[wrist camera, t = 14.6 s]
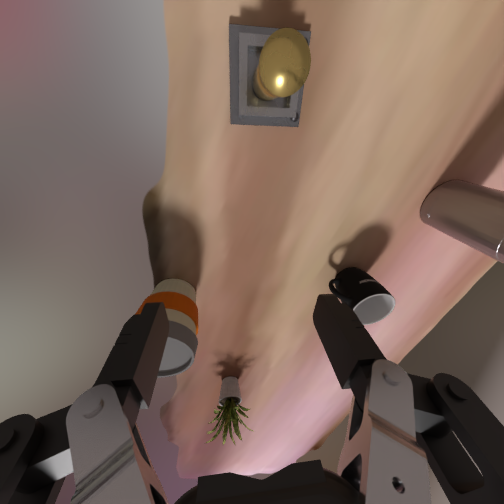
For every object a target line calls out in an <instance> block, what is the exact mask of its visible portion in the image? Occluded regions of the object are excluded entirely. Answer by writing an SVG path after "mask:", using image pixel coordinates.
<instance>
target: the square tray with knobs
mask: <svg viewBox="0 0 504 504" xmlns="http://www.w3.org/2000/svg"><path fill="white" fill-rule="evenodd" d="M277 30H279V28H268V27H257V26H247V25H236V24H229V59H230V119H231V124H240V125H264V126H289V127H298V125H299V118H300V110H301V103H302V95H303V88H304V84H303V86H302V87H301V88H300V89H299V90H298V91H297V92H296V93H294V94H292V95H290V96H288V97H277V98H275V99H273V100H270V101H264V100H261V99H260V98H259V97H258V96H257V95H256V94H255V92H254V89H253V84H252V81H253V75H254V72H255V70H256V68H257V66H258V64H259V58H260V54H261V51H262V48H263V46H264V44H265V42H266V41H267V39H268V38H269V37H270V35H271V34H273V33H274V32H275V31H277ZM297 31H299V32H300V33H301V34H302V35H303V36H304V38H305V39H306V41H307V43H308V46H309V43H310V36H311V31H300V30H297Z"/></svg>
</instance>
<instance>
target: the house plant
mask: <svg viewBox="0 0 504 504" xmlns="http://www.w3.org/2000/svg"><path fill="white" fill-rule="evenodd" d="M241 401H242V400H241V394H240V389H239V384H238V379H237V378H236V377H226V378H224V379H223V380H222V385H221V391H220V397H219V404H220V405H221V406H217V407H218V409H221V410H220V411H217V410H214V413H215V414H217V413H219V414H218V415H217V416H216V418H215V419H214V420H213V421H212V422H214V421H215V420H219V421H218V423H217V425H216V426H215V428H214V429H213V430H212V431H211V432H208V434H210V433H212V432H214V431H215V429H216V428H217V426H218V424H219V422H220V420H221V419H222V418H224V419H222V420H223V421H221V422H222V424H221V423H220V424H221V426H220V425H219V426H220V428H219V430H218V431H217V433H216V434H215V436H214V437H213V438H212V439H211V440H210V441H208V442H211V441H213V440H214V439H215V438H216V437H217V436H218V434H219V433H220V431H221V429H222V427H223V424H224V422H225V424H224V429H223V430H224V432H223V434H222V435H223V445H224V443H225V441H226V436H227V431H228V427H229V433H230V437H231V439H232V441H233V443H234V444H235V442H234V439H233V436H232V428H231V421H232V422H233V427H234V432H235V433H236V435H237V436H238V437H239V439H240V440H242V438H241V435H240V431H239V427H238V420H239V419H240V417H239V415H238V414H237V412H236V410H237V411H238V412H239V413H240V414H242V415H243V416H244V417H247V418H248V416H246V415H245V413H244V412H242V411H241V410H240V408H241V409H242V410H244V411H248V410H250V409H251V408H250V409H246V408H244V407H242V406H240V405H239V404H240V403H241ZM237 405H238V406H237ZM239 407H240V408H239ZM222 410H223V413H222V415H221V417H220V418H218V417H219V415H220V413H221V412H222ZM237 415H238V416H237ZM238 417H239V419H238ZM217 418H218V419H217ZM240 421H241V422H242V420H241V419H240V420H239V422H240ZM212 422H210V423H212ZM241 422H240V423H241ZM242 423H243V422H242ZM242 423H241V424H242ZM208 424H209V423H208ZM243 425H244V426H245V427H246V428H248V427H247V426H246V425H245V424H244V423H243ZM219 426H218V427H219ZM248 429H249V428H248ZM249 430H251V429H249ZM251 431H252V430H251ZM233 434H234V433H233ZM208 442H206V443H208Z"/></svg>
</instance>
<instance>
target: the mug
mask: <svg viewBox="0 0 504 504" xmlns="http://www.w3.org/2000/svg"><path fill="white" fill-rule="evenodd" d="M333 283H335V286H336V288H335V287H334V286H333ZM329 289H330V290H331V292H332V293H333V294H335V295H336V297H338V298H339V299H341V301H342V303H345V304H346V305H347V306H349V307H350V308H351V309H352V310H353V311H354V312H355V314H356V315H357V317H358V318H359V321H361V322H362V324H363V325H368V324H373V323H376V322H378V321H380V320H382V319H384V318H385V317H387V316H388V315H389V314H390V313H391V312H392V310H393V309H394V307H395V299H394V297H393V296H392V295H391V294H390V293H389V292H388V291H387V290H386V289H385V288H384V287H383V286H382V285H381V284H380V283H379V282H377V281H376V280H375V279H374V278H373V277H371V276H370V275H369V274H367V273H366V272H364V271H363V270H361V269H358V268H347V269H345V270H343V271H341V272H340V273H339V274H338V275H337V277H336V279H332V280H331V281H330V282H329Z"/></svg>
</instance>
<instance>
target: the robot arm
mask: <svg viewBox="0 0 504 504" xmlns="http://www.w3.org/2000/svg"><path fill="white" fill-rule="evenodd" d="M420 217H421V220H422V221H423V222H424V223H426V224H428V225H430V226H432V227H433V228H435V229H437V230H439V231H441V232H443V233H445V234H447V235H449V236H451V237H453V238H455V239H457V240H458V241H460V242H462V243H464V244H466V245H468V246H470V247H472V248H474V249H476V250H478V251H480V252H482V253H484V254H486V255H488V256H490V257H492V258H494V259H495V260H497V261H499V262H502V263H504V191H500V190H496V189H492V188H488V187H484V186H481V185H477V184H473V183H469V182H465V181H461V180H452V181H448V182H446V183H443V184H442V185H440V186H438V187H437V188H436V189H434V190H433V191H432V192H431V193H430V194H429V195H428V197H427V198H426V199H425V201H424V203H423V205H422V207H421V211H420ZM313 322H314V325H315V328H316V330H317V332H318V335H319V337H320V339H321V342H322V344H323V346H324V348H325V351H326V353H327V355H328V358H329V360H330V362H331V365H332V367H333V369H334V372H335V374H336V376H337V379H338V381H339V383H340V385H341V388H342V389H349V388H351V390H352V392H353V394H354V395H353V398H352V403H351V409H350V415H349V421H348V427H347V434H346V439H345V444H344V447H343V450H342V452H341V455H340V459H339V463H338V469H337V474H336V473H334V472H332V471H330V470H328V469H325V468H322V464H321V461H320V460H314V461H308V462H300V463H293V464H290V465H288V466H287V467H285V468H283V469H281V470H280V471H278V472H276V473H274V474H273V475H271V476H269V477H268V478H266V479H263V480H259V479H255V478H251V477H247V476H242V475H238V474H234V473H222V474H215V475H208V476H201V477H198V485H197V486H195V487H193V488H191V489H190V490H189V491H187V492H186V493H185V494H183V496H181V497H180V498H179V499H178V500H177V501H176V502H175V503H174V504H431V494H430V483H429V472H428V463H429V465H430V467H431V469H432V471H433V473H434V474H435V476H436V478H437V480H438V482H439V483H440V485H441V487H442V489H443V491H444V493H445V494H446V496H447V498H448V500H449V502H450V504H504V426H503V425H502V424H501V423H500V422H499V420H498V419H497V418H496V417H495V416H494V415H493V413H492V412H491V411H490V410H489V409H488V408H487V407H486V405H485V404H484V403H483V402H482V401H481V400H480V399H479V397H478V396H477V395H476V394H475V393H474V392H473V390H472V389H471V388H469V387H468V386H467V385H466V384H465V383H463V382H462V381H461V380H459V379H458V378H456V377H454V376H452V375H449V374H445V373H439V374H436V375H435V376H434V377H433V378H432V379H428V378H424V377H420V376H415V375H411V374H408V373H406V372H405V371H404V370H403V369H402V368H401V367H400V366H398V365H397V364H395V363H394V362H391V361H389V360H387V359H386V358H385V357H384V355H383V354H382V352H381V351H380V349H379V348H378V346H377V345H376V343H375V342H374V340H373V339H372V337H371V336H370V334H369V333H368V331H367V330H366V329H365V328H364V325H363V324H362V322H361V321H359V318H358V317H357V315H356V314H355V312H354V311H353V310H352V309H351V308H350V307H349V306H347V305H346V304H345V303H340V301H339V300H338V298H337V297H336V295H335V294H320V295H319V296H318V298H317V302H316V305H315V309H314V312H313ZM168 334H169V320H168V317H167V313H166V309H165V305H164V303H163V302H153V303H146V304H145V305H144V307H143V309H142V312H141V314H136V315H133V316H132V317H131V318H130V319H129V320H128V321H127V322H126V323H125V324H124V326H123V328H122V330H121V332H120V335H119V337H118V339H117V340H116V343H115V346H114V347H113V348H112V350H111V352H110V354H109V356H108V358H107V360H106V362H105V364H104V367H103V368H102V370H101V372H100V374H99V376H98V378H97V380H96V382H95V384H94V385H93V387H92V388H90V389H88V390H87V391H85V392H84V393H83V394H81V395H80V396H79V397H78V398H77V399H76V401H75V402H74V403H73V404H72V405H70V406H68V407H65V408H63V409H60V410H58V411H56V412H53V413H50V414H48V415H46V416H43V417H40V418H38V419H35V418H34V417H33V416H31V415H29V414H21V415H17V416H14V417H11V418H9V419H7V420H5V421H4V422H2V423H0V504H55V502H56V499H57V497H58V494H59V492H60V490H61V487H62V485H63V482H64V480H65V477H66V475H68V474H70V473H72V472H74V478H75V485H76V491H75V494H74V495H73V497H72V499H71V504H169V503H168V500H167V498H166V495H165V492H164V490H163V487H162V485H161V483H160V480H159V479H158V476H157V474H156V472H155V470H154V468H153V465H152V463H151V460H150V458H149V455H148V452H147V450H146V447H145V445H144V442H143V439H142V437H141V434H140V431H139V429H138V426H137V424H136V419H137V416H138V413H139V409H146V408H149V405H150V401H151V398H152V394H153V390H154V386H155V383H156V379H157V375H158V372H159V368H160V364H161V360H162V357H163V353H164V349H165V346H166V342H167V338H168ZM452 431H454V432H455V434H456V435H457V437H458V438H459V440H460V441H461V443H462V444H463V446H464V447H465V448H466V450H467V451H468V453H469V454H470V456H471V457H472V459H473V460H474V462H475V463H476V464H477V466H478V467H479V469H480V471H481V473H482V475H483V476H482V475H481V473H480V472H479V471H478V469H477V467H476V466H475V465H474V463H473V462H472V461H471V459H470V457H469V456H468V454H467V453H466V451H465V450H464V448H463V447H462V445H461V444H460V443H459V441H458V440H457V438H456V437H455V435H454V434H453V432H452ZM417 443H418V444H417Z"/></svg>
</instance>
